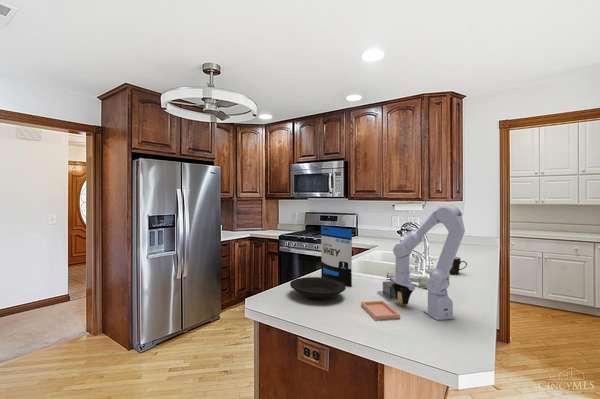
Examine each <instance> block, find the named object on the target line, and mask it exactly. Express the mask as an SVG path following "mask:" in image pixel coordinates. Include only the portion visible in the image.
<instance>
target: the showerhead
mask: <svg viewBox="0 0 600 399" xmlns="http://www.w3.org/2000/svg"><path fill="white" fill-rule="evenodd" d="M434 270H435V268H434V267H430V266H427V268H425V270H424V272H425V274H428V275H429V277H430V276H431V274H432V272H433V271H434Z"/></svg>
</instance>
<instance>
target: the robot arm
mask: <svg viewBox="0 0 600 399" xmlns="http://www.w3.org/2000/svg"><path fill="white" fill-rule="evenodd" d="M437 224H442V225H444V227H445V229H446V230H447V231H448V233H447V236H446V239H445V241H444V244H443V246H442V250H441V251H440V252H441V253H440V255H439V258H438V260H437V263H436V266H435V268H434V269H435V270H434V271H433V272H432V274H431V276H430V275H429V277H428V279H427V280H426V283H425V286H426V288H425V289H426V290H427V309H423V312H424V313H425V314H427V315H428V316H429V317H431V318H432V319H434V320H435V321H441V320H443V321H444V320H455V319H456V318H455V317H454V310H453V309H454V307H453V306H454V303H453V300H452V299H451V298H450V297H449V293H448V288H449V287H450V277H451V275H450V273H449V272H450V269H451V266H452V264H453V261H454V259H455V257H457V253H458V250H459V247H460V245H461V242H462V240H463V237H464V236H465V235H464V234H465V231H466V230H465V225H464V220H463V212H462V211H461V210H460V209H459V207H457V206H456V205H453V204H452V205H441V206H439V207H438V208H437V209H436V210H435V211H433V212H432V213H431V214H430V216H428V217H427V219H426V220H425V221H424V222H423V223H422V224H421V225H420V226H419V227H418V229H416V230H411V231H408V232H407V233H406V236H405V237H404V238H403V239H400V241H399V242H400V243H396V244H395V245H394V246H393V248H392V249H393V250H392V253H393V254H394V256H395V267H394V268H395V270H394V271H395V273H396V277H391V280H390V281H392V282H395V283H394V284H392V287H393V289H394V291H395V295H396V299H397V298H398V291H399V290H400V291H401V294H402V302H403V304H407V305H408V304H409V301H410V298H411V295H412V293H413V292H414V291H415V290H416V288H415V287H416V286H415V284H413V282H411V281H410V280H409V275H410V255H412V253H413V250H414V249H416V248H417V246H419V245H420V244H421V243H422V242H423V236H424V235H426V234H427V233H428V232H429V231H430V230H431V229H432V228H433V227H434V226H436V225H437Z"/></svg>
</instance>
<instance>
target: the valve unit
mask: <svg viewBox="0 0 600 399" xmlns="http://www.w3.org/2000/svg"><path fill="white" fill-rule="evenodd" d="M394 283H395V282H392V281H391V280H389V281H382V290H379V291H378V290H377V291H376V293H377V294H378V295H379V296H380V297H382V299H384V300H386V301H387V302H397V299H396V295H395V291H394V289H393V287H392V284H394Z"/></svg>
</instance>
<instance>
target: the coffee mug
mask: <svg viewBox="0 0 600 399" xmlns="http://www.w3.org/2000/svg"><path fill="white" fill-rule="evenodd" d="M462 263H465V266H463V267H462V268H460V266H461V264H462ZM467 266H468V263H467V262H466V261H465V260H462V261H461V257H458V256H455V259H454V261H453V264H452V266H451V269H450V272H449V273H450V276H458V275H459V273H460V271H461V270H464V269H465V268H467Z"/></svg>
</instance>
